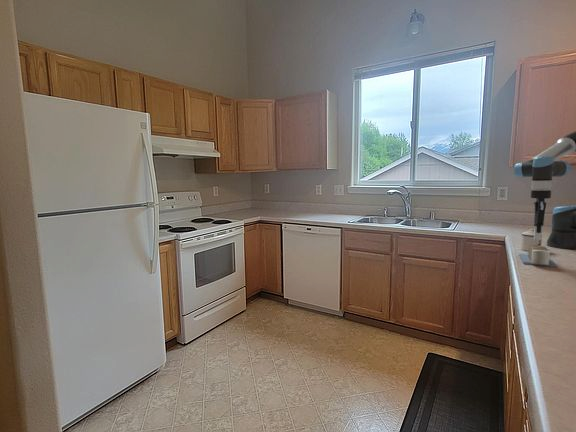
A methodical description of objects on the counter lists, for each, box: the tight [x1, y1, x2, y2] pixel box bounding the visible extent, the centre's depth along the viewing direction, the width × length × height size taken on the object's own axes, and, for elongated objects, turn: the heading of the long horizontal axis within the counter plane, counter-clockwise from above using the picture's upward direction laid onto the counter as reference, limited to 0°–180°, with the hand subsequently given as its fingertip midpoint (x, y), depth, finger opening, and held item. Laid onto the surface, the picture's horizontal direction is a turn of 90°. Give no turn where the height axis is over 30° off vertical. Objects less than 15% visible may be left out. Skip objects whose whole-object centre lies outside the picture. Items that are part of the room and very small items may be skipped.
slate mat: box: [518, 253, 557, 268], centre depth 155 cm, size 12×18×1 cm, turn 150°
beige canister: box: [527, 245, 550, 265], centre depth 151 cm, size 6×6×13 cm
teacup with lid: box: [520, 228, 543, 252], centre depth 177 cm, size 12×9×12 cm
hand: (537, 239), depth 154 cm, fingers closed
